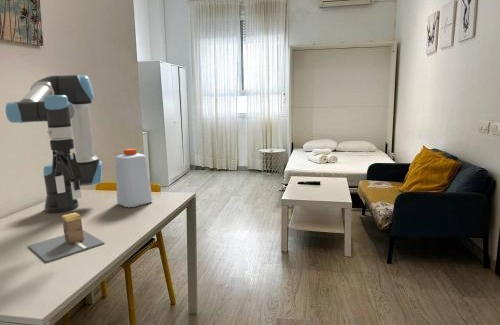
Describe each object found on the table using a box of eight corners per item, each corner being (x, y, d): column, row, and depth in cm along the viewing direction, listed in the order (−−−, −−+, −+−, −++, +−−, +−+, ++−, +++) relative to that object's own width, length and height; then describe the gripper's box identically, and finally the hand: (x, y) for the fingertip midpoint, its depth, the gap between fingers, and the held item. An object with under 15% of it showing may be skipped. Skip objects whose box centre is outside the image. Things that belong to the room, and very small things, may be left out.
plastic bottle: (141, 197, 196) (136, 146, 191) (155, 202, 186) (151, 148, 181) (114, 203, 186) (108, 150, 181) (128, 209, 176) (122, 152, 170)
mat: (28, 246, 135) (28, 244, 135) (82, 231, 149) (82, 229, 149) (46, 262, 121) (45, 260, 121) (104, 243, 135) (104, 241, 135)
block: (65, 240, 137) (61, 215, 135) (78, 236, 141) (75, 212, 139) (70, 244, 134) (66, 218, 132) (83, 240, 137) (80, 215, 135)
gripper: (37, 137, 135) (45, 192, 139) (65, 142, 119) (73, 203, 123) (58, 135, 141) (65, 188, 145) (87, 139, 125) (94, 198, 129)
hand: (69, 195), depth 134 cm, fingers open, 13 cm apart
